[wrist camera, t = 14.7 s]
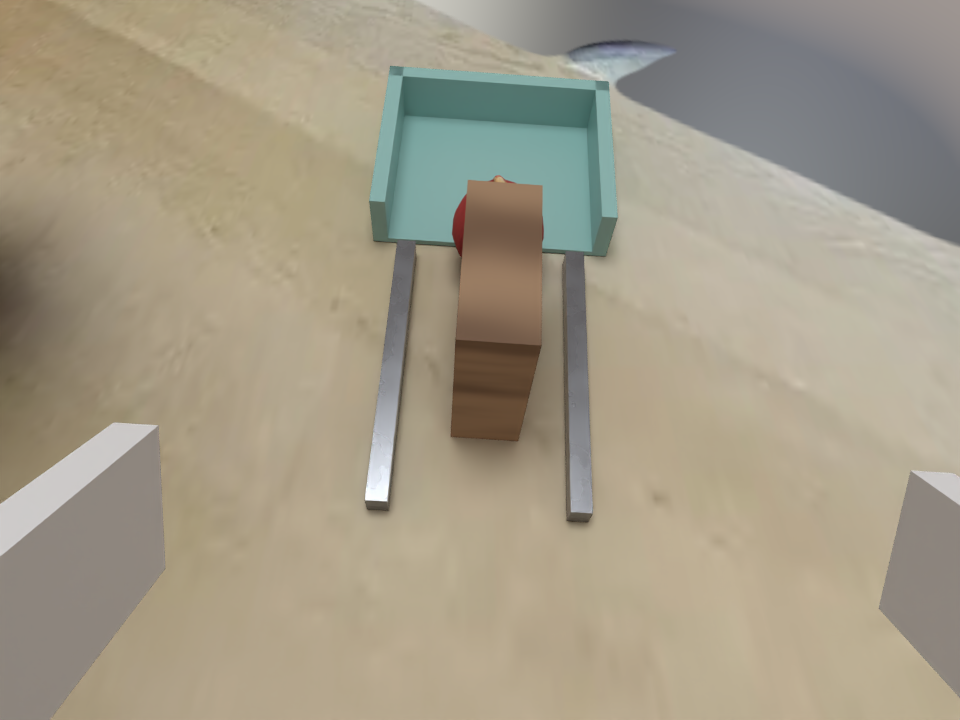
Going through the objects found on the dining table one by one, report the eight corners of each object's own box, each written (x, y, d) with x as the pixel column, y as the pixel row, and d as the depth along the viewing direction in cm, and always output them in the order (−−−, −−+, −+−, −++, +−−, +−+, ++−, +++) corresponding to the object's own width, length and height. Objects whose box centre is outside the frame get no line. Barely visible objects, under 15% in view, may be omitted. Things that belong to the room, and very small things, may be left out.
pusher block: (517, 441, 44) (541, 345, 35) (450, 436, 44) (455, 339, 34) (521, 302, 49) (542, 185, 40) (461, 298, 49) (467, 179, 39)
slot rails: (587, 521, 42) (592, 513, 40) (367, 508, 41) (364, 500, 40) (579, 265, 51) (583, 252, 49) (398, 253, 50) (397, 239, 49)
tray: (605, 256, 51) (617, 217, 48) (373, 240, 51) (369, 200, 47) (598, 124, 58) (608, 81, 54) (392, 109, 57) (390, 65, 54)
